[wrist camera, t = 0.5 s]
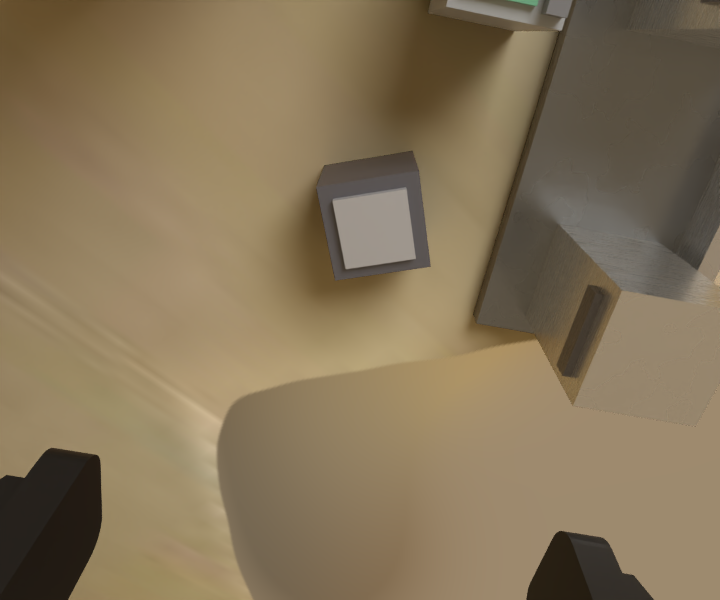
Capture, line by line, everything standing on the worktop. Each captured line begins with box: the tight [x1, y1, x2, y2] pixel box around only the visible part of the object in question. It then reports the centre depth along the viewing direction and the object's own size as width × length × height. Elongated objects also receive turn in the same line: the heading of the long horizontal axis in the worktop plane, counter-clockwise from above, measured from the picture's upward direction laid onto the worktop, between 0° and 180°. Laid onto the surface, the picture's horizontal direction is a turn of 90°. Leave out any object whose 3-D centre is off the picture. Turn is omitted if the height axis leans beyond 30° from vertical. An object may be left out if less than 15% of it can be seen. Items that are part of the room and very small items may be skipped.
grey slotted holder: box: [473, 0, 720, 427], centre depth 26 cm, size 24×11×10 cm, turn 170°
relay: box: [316, 151, 431, 280], centre depth 30 cm, size 5×5×5 cm
